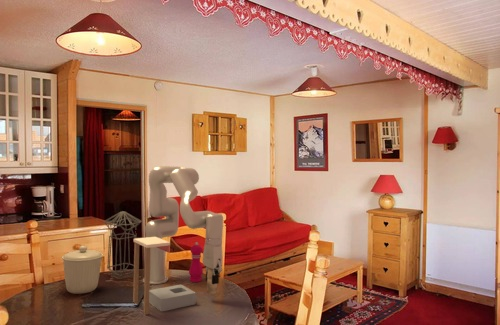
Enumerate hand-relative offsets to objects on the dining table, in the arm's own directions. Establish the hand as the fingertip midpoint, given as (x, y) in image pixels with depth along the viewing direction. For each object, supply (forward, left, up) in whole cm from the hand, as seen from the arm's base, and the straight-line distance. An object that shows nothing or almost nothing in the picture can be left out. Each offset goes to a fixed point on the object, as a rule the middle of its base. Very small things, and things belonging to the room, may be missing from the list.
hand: (212, 281), depth 176 cm
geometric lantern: (-58, -21, -9) cm, 63 cm away
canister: (-45, -44, -9) cm, 64 cm away
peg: (0, 0, -5) cm, 5 cm away
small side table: (-7, -26, -9) cm, 28 cm away
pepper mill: (-31, +9, -9) cm, 34 cm away
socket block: (-7, -16, -9) cm, 19 cm away
